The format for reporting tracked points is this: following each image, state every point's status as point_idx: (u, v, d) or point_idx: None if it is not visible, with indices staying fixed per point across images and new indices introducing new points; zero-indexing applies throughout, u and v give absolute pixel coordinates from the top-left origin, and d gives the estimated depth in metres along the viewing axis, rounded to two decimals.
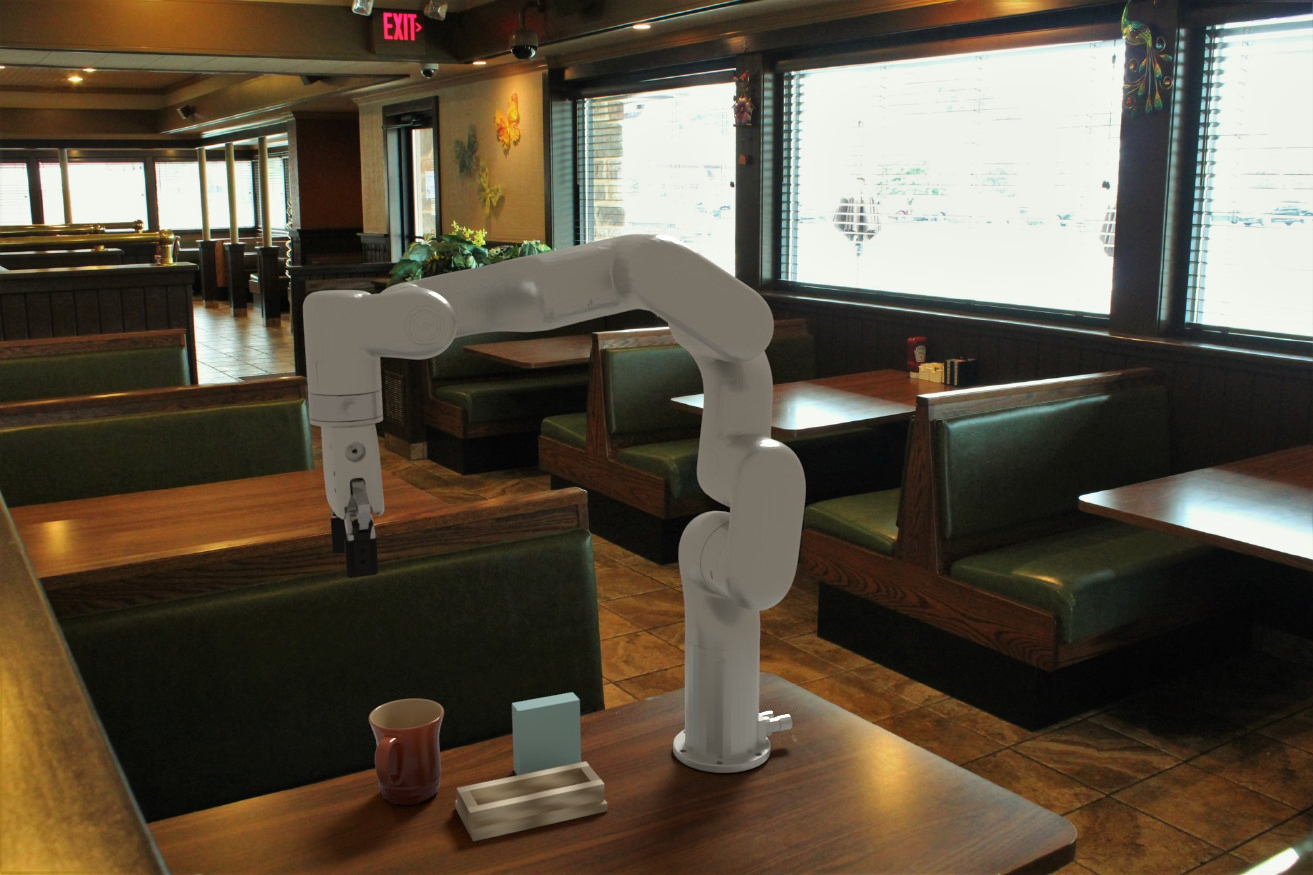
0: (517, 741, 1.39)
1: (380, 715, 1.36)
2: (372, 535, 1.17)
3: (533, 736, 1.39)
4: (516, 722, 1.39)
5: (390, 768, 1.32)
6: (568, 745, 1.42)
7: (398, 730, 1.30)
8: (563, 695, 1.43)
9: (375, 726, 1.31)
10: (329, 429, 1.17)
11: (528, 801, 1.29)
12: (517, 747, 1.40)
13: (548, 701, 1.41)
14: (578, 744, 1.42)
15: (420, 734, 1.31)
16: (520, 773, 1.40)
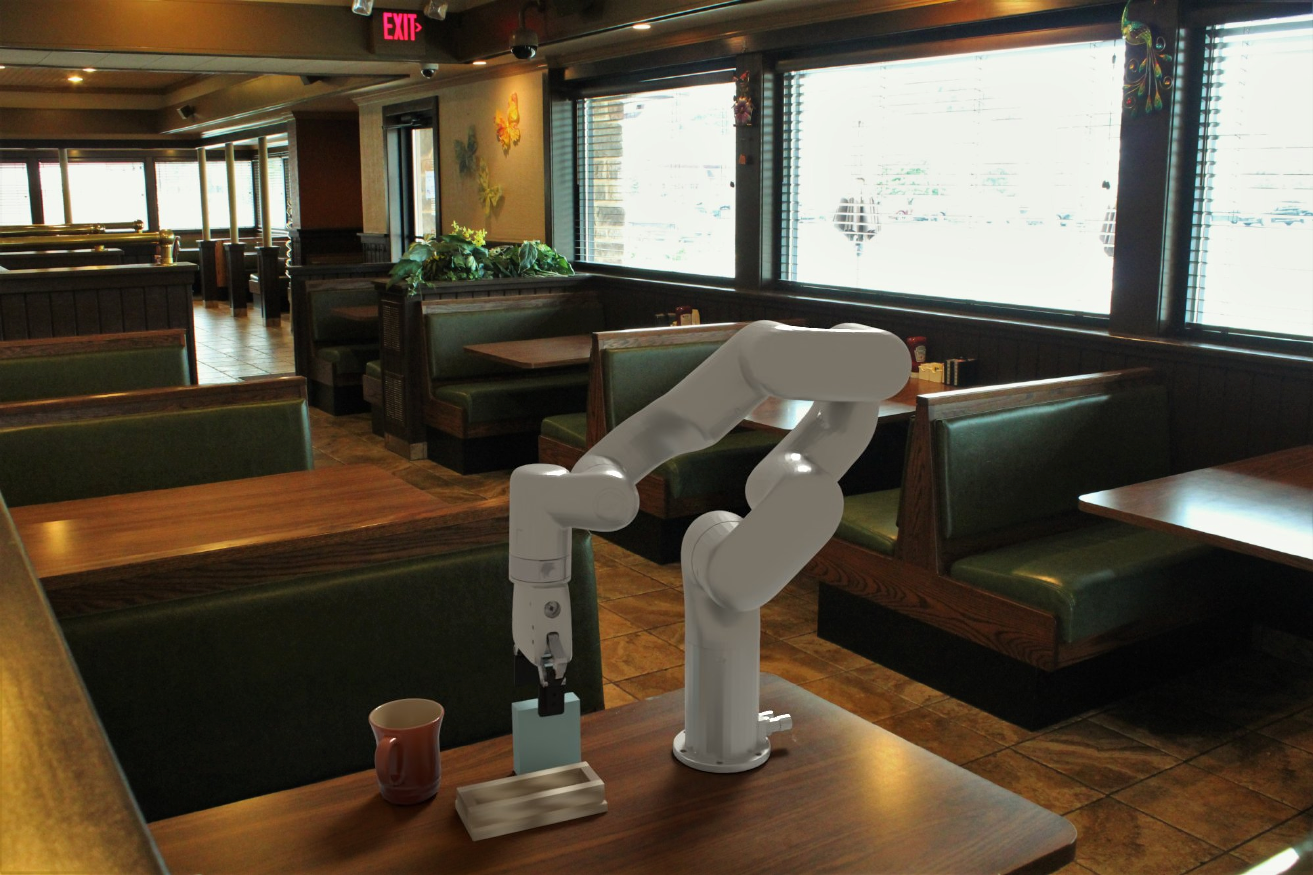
0: (517, 741, 1.39)
1: (380, 715, 1.36)
2: (563, 681, 1.35)
3: (533, 736, 1.39)
4: (516, 722, 1.39)
5: (390, 768, 1.32)
6: (568, 745, 1.42)
7: (398, 730, 1.30)
8: None
9: (375, 726, 1.31)
10: (529, 588, 1.34)
11: (528, 801, 1.29)
12: (517, 747, 1.40)
13: None
14: (578, 744, 1.42)
15: (420, 734, 1.31)
16: (520, 773, 1.40)
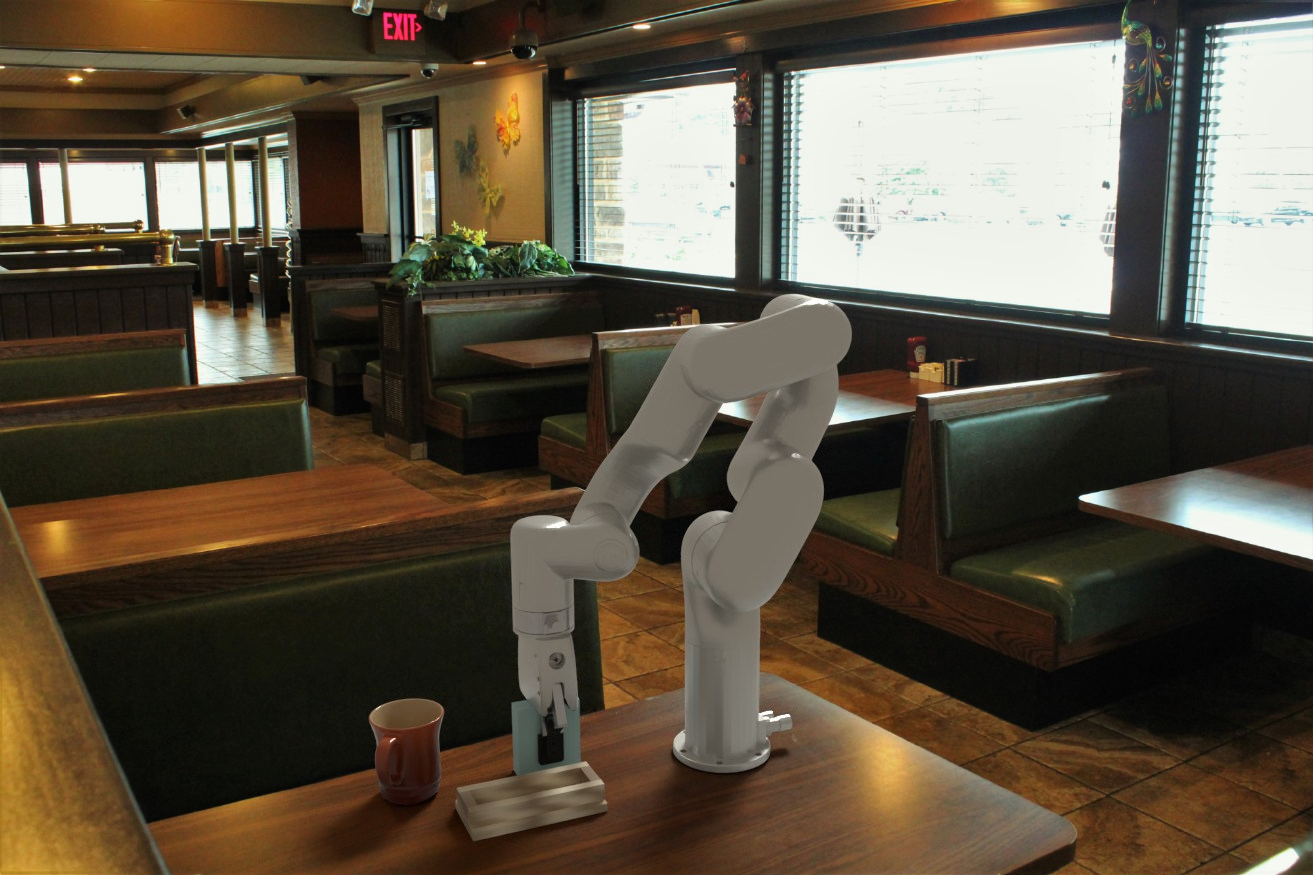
0: (517, 741, 1.39)
1: (380, 715, 1.36)
2: (561, 732, 1.39)
3: (533, 735, 1.39)
4: (516, 722, 1.39)
5: (390, 768, 1.32)
6: (568, 745, 1.42)
7: (398, 730, 1.30)
8: None
9: (375, 726, 1.31)
10: (533, 640, 1.36)
11: (528, 801, 1.29)
12: (517, 746, 1.40)
13: None
14: (578, 744, 1.42)
15: (420, 734, 1.31)
16: (520, 773, 1.40)
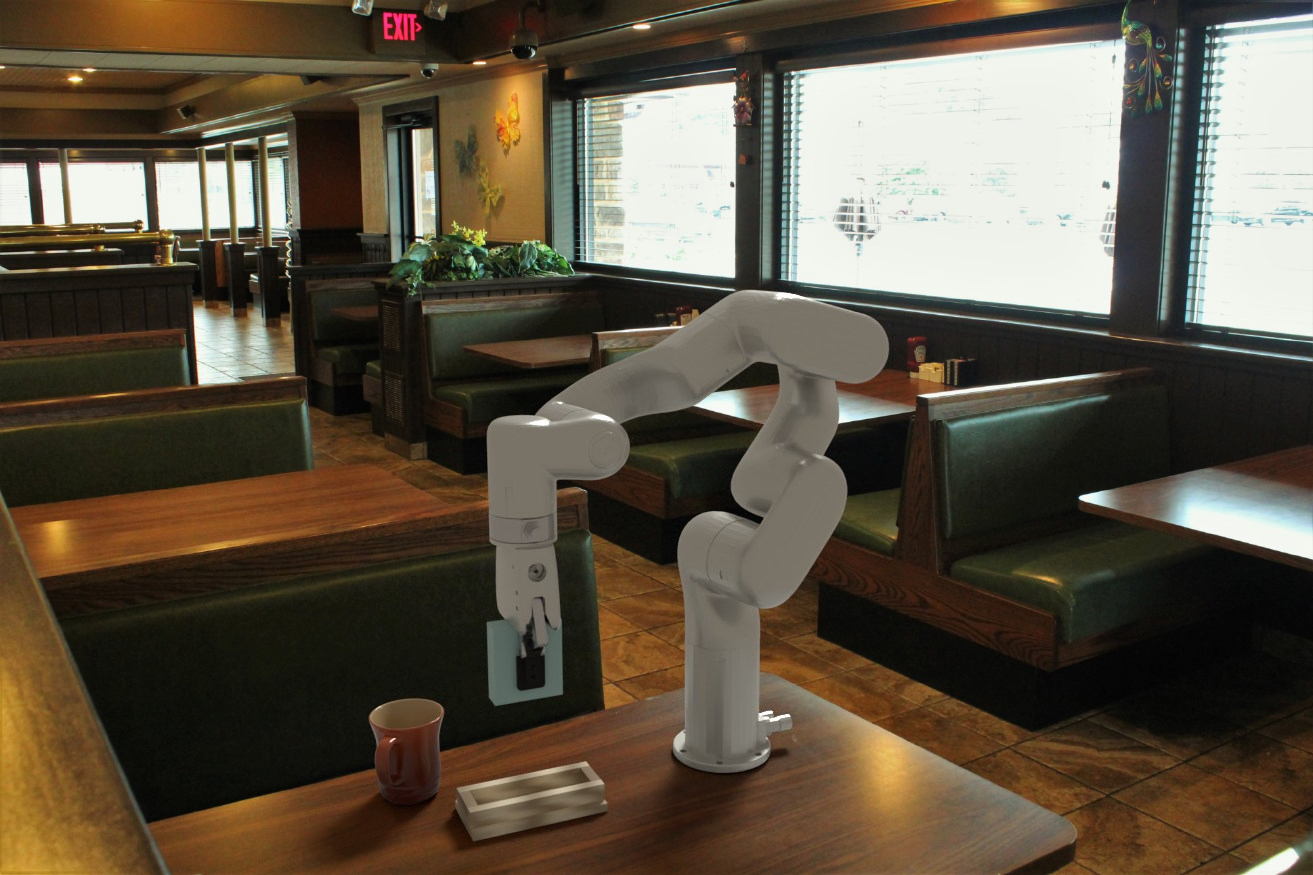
0: (492, 663, 1.27)
1: (380, 715, 1.36)
2: (542, 654, 1.27)
3: (510, 657, 1.27)
4: (491, 642, 1.26)
5: (390, 768, 1.32)
6: (549, 670, 1.29)
7: (398, 730, 1.30)
8: None
9: (375, 726, 1.31)
10: (511, 550, 1.23)
11: (528, 801, 1.29)
12: (492, 670, 1.27)
13: None
14: (560, 669, 1.29)
15: (420, 734, 1.31)
16: (495, 699, 1.27)
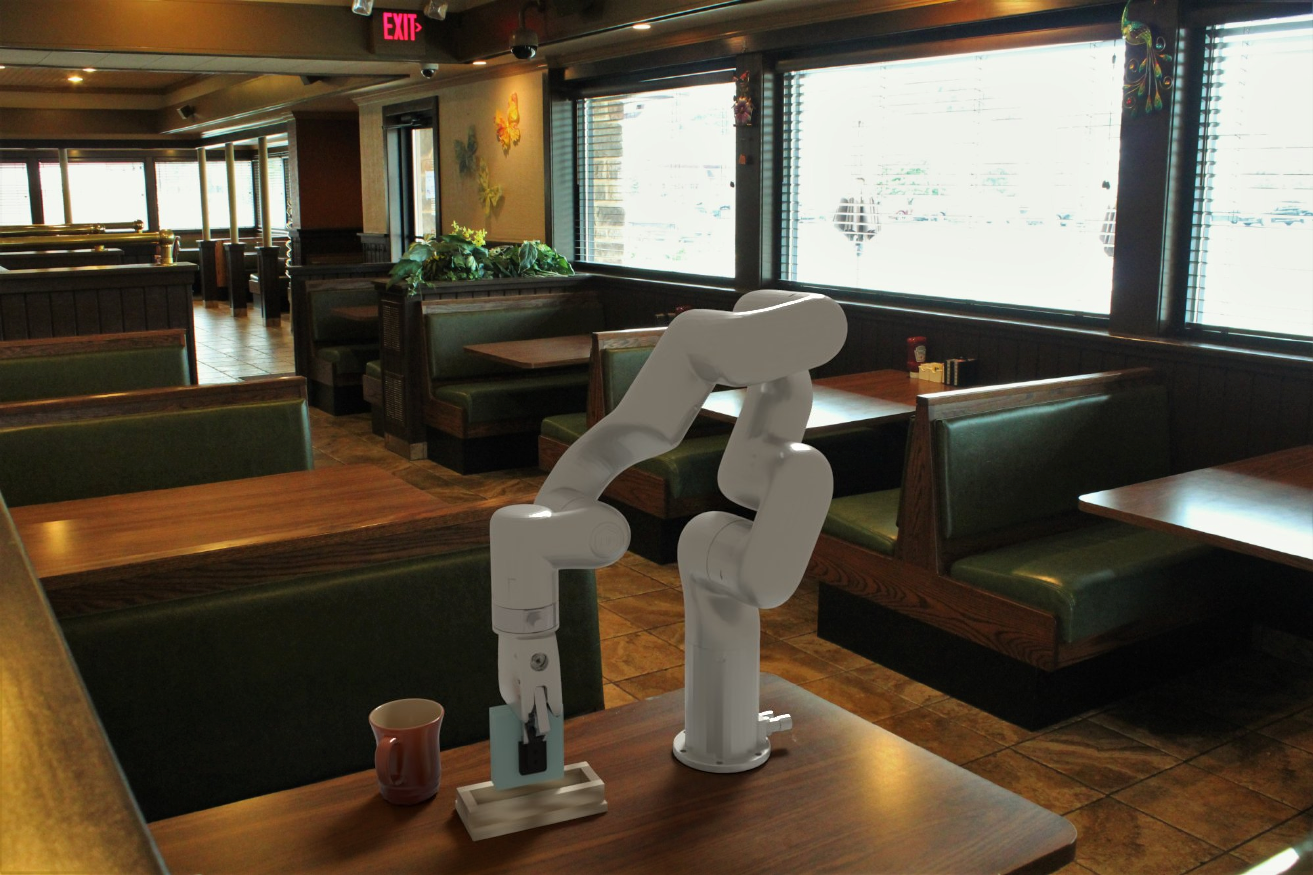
0: (494, 749, 1.28)
1: (380, 715, 1.36)
2: (544, 740, 1.28)
3: (512, 743, 1.28)
4: (493, 728, 1.28)
5: (390, 768, 1.32)
6: (550, 754, 1.31)
7: (398, 730, 1.30)
8: None
9: (375, 726, 1.31)
10: (514, 640, 1.25)
11: (528, 801, 1.29)
12: (494, 755, 1.29)
13: None
14: (561, 753, 1.31)
15: (420, 734, 1.31)
16: (497, 784, 1.29)
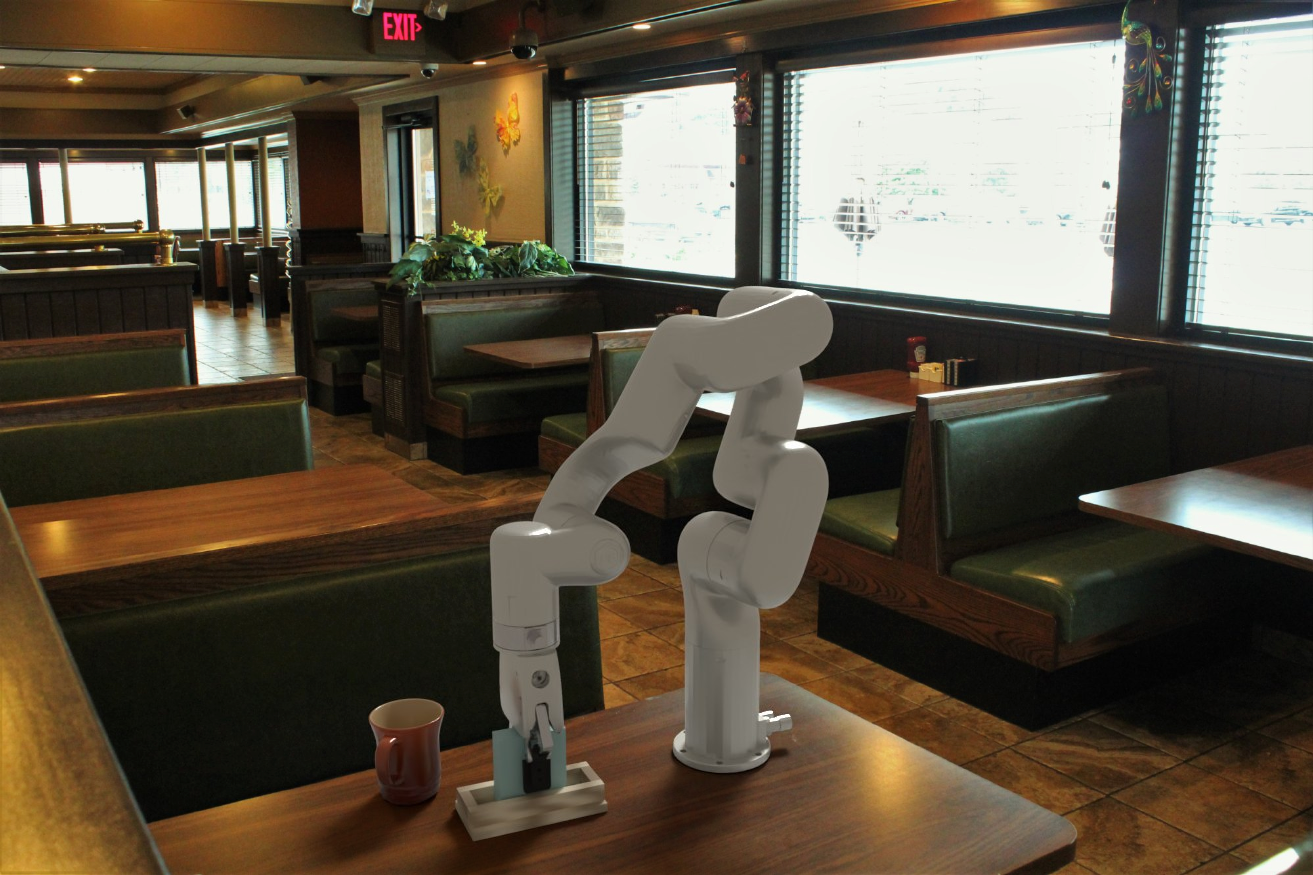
0: (498, 773, 1.29)
1: (380, 715, 1.36)
2: (548, 758, 1.28)
3: (515, 767, 1.29)
4: (497, 752, 1.29)
5: (390, 768, 1.32)
6: (553, 777, 1.31)
7: (398, 730, 1.30)
8: None
9: (375, 726, 1.31)
10: (515, 657, 1.25)
11: (528, 801, 1.29)
12: (497, 779, 1.29)
13: None
14: (564, 775, 1.32)
15: (420, 734, 1.31)
16: None
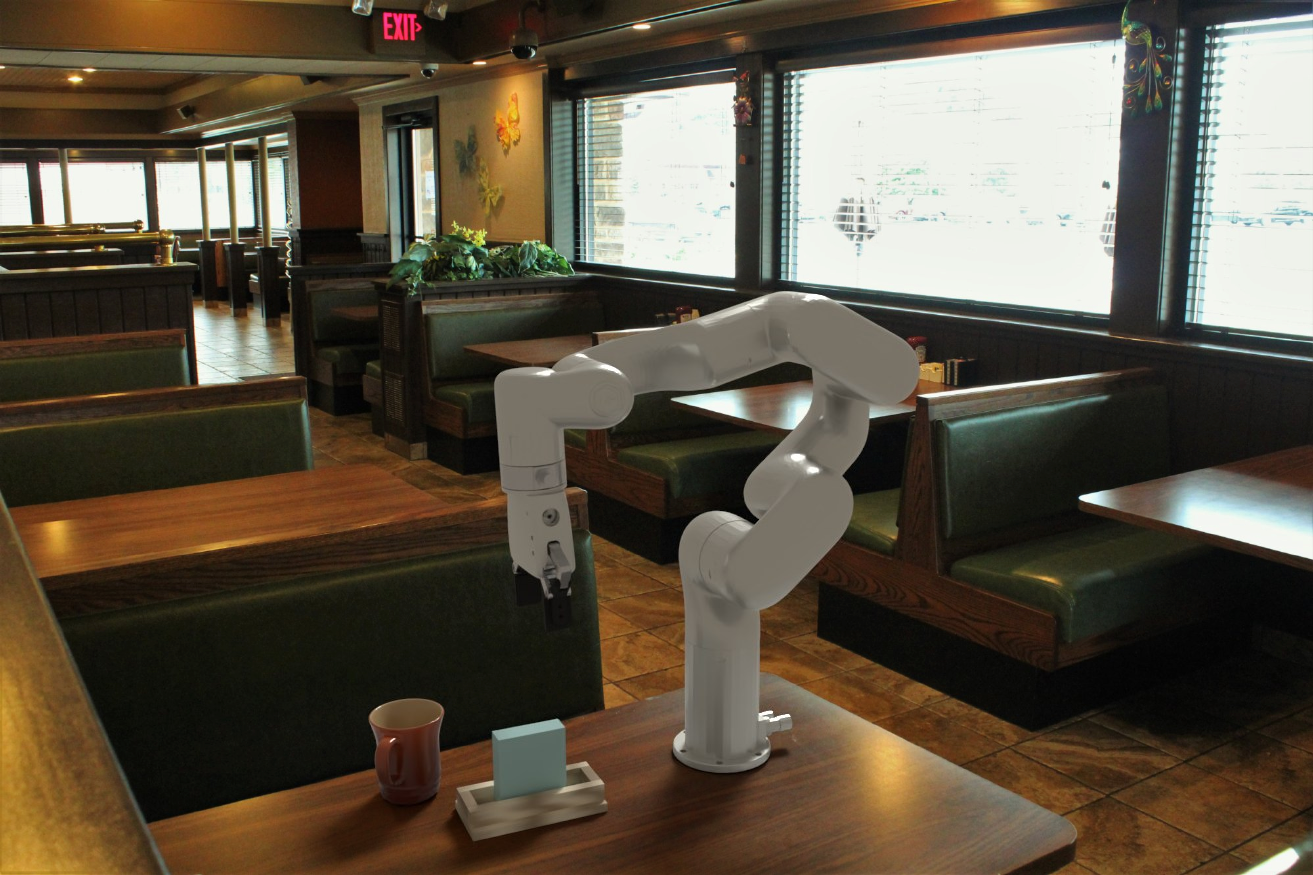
0: (498, 772, 1.29)
1: (380, 715, 1.36)
2: (568, 592, 1.28)
3: (515, 767, 1.29)
4: (496, 752, 1.29)
5: (390, 768, 1.32)
6: (553, 777, 1.31)
7: (398, 730, 1.30)
8: (547, 722, 1.32)
9: (375, 726, 1.31)
10: (524, 497, 1.27)
11: (528, 801, 1.29)
12: (497, 778, 1.29)
13: (531, 729, 1.31)
14: (564, 775, 1.32)
15: (420, 734, 1.31)
16: None
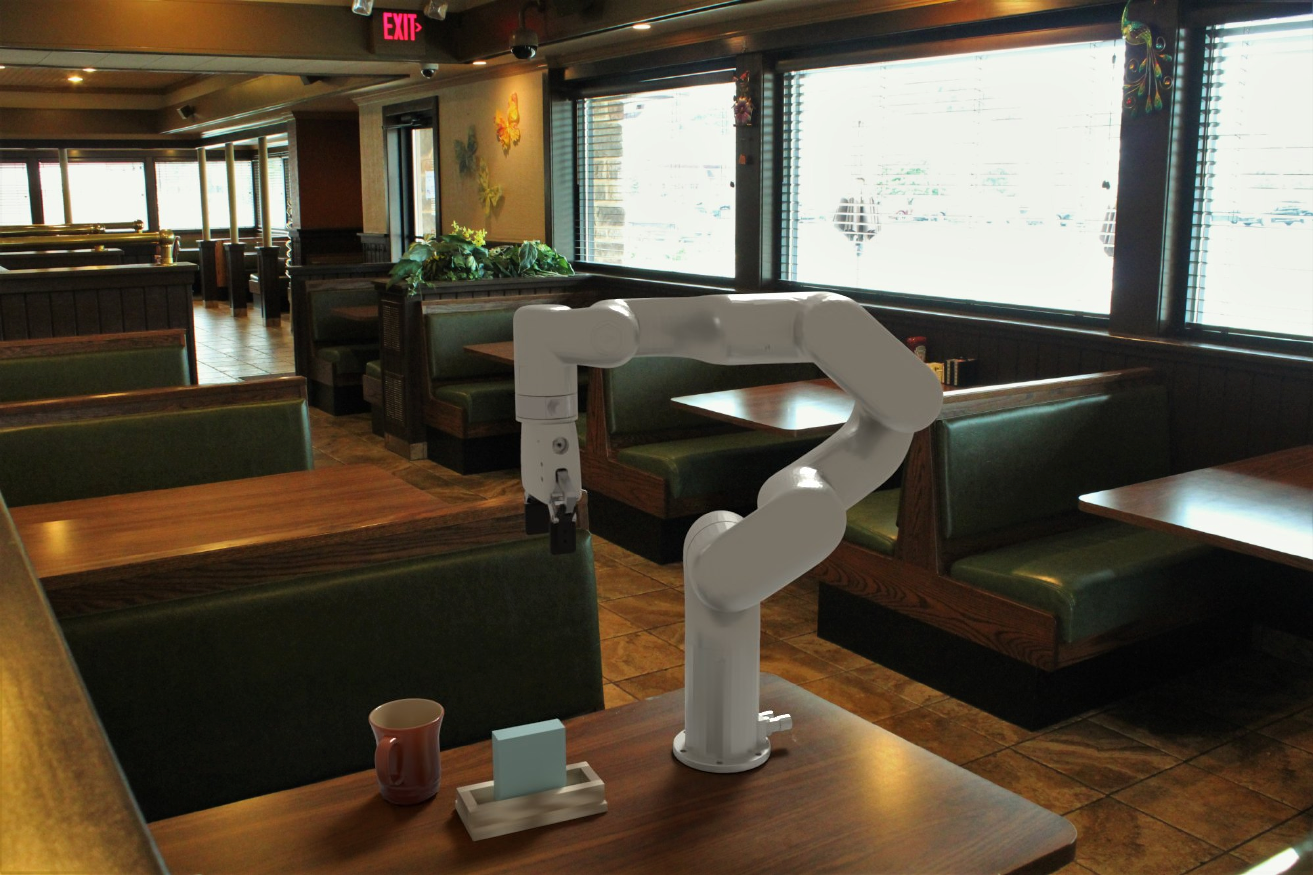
0: (498, 772, 1.29)
1: (380, 715, 1.36)
2: (573, 518, 1.35)
3: (515, 767, 1.29)
4: (496, 752, 1.29)
5: (390, 768, 1.32)
6: (553, 777, 1.31)
7: (398, 730, 1.30)
8: (547, 722, 1.32)
9: (375, 726, 1.31)
10: (536, 426, 1.34)
11: (528, 801, 1.29)
12: (497, 778, 1.29)
13: (531, 729, 1.31)
14: (564, 775, 1.32)
15: (420, 734, 1.31)
16: None
